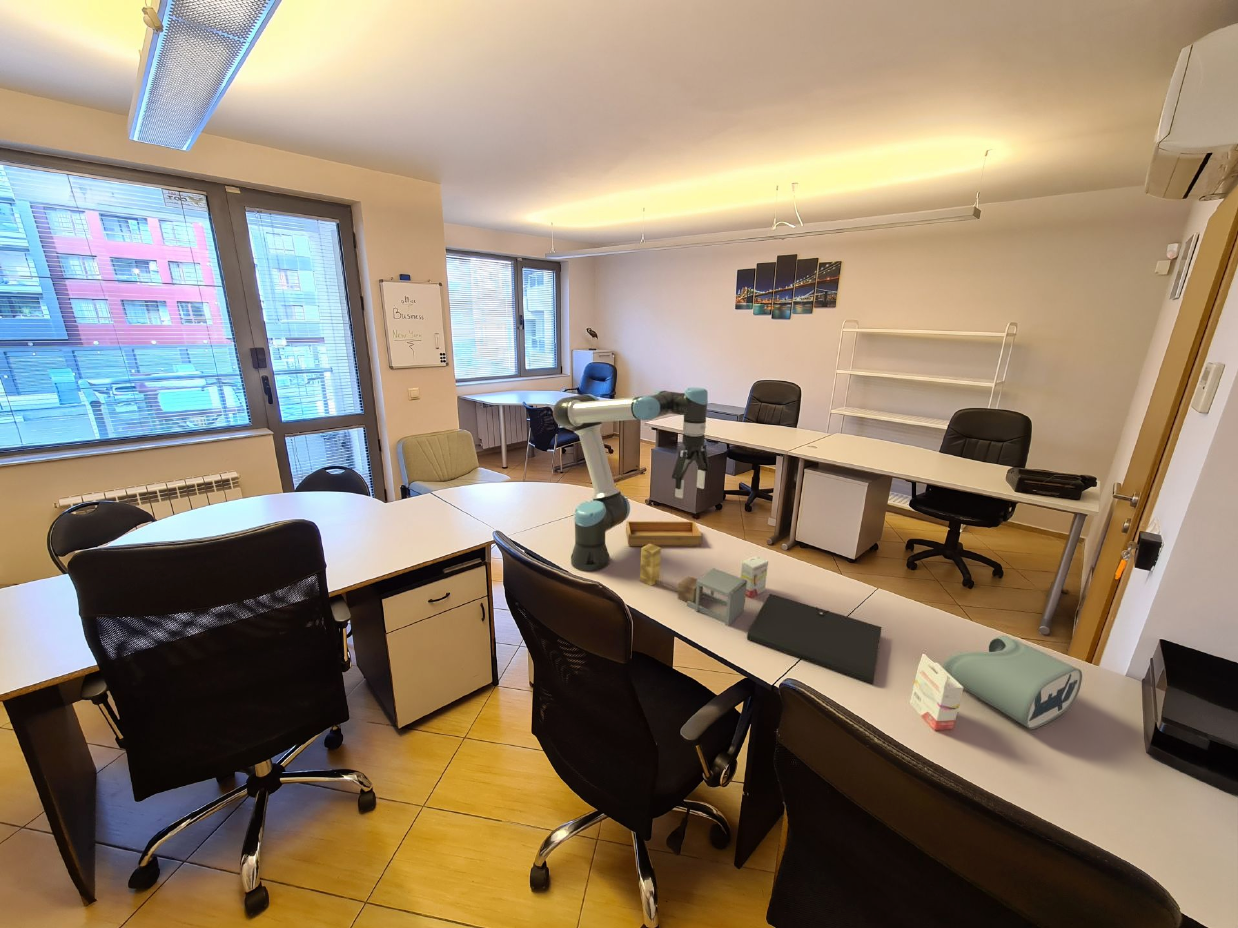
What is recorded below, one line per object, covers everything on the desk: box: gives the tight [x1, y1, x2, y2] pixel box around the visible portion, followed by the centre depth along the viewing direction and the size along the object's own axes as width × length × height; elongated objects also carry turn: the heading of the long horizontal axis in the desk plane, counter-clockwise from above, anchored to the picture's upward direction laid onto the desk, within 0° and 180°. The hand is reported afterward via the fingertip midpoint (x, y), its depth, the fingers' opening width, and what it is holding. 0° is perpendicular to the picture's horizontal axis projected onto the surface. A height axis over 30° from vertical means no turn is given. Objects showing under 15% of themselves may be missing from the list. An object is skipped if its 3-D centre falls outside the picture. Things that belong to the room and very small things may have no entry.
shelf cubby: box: [686, 567, 747, 627], centre depth 150 cm, size 16×11×11 cm
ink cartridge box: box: [909, 653, 964, 731], centre depth 109 cm, size 9×5×15 cm, turn 5°
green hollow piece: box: [942, 635, 1083, 730], centre depth 116 cm, size 22×19×13 cm
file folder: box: [746, 593, 883, 685], centre depth 138 cm, size 33×4×24 cm
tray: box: [625, 520, 703, 547], centre depth 201 cm, size 31×15×6 cm, turn 93°
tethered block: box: [639, 544, 704, 604], centre depth 161 cm, size 22×6×13 cm, turn 50°
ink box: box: [740, 555, 769, 599], centre depth 160 cm, size 9×5×12 cm, turn 126°
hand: (689, 492), depth 164 cm, fingers open, 13 cm apart
